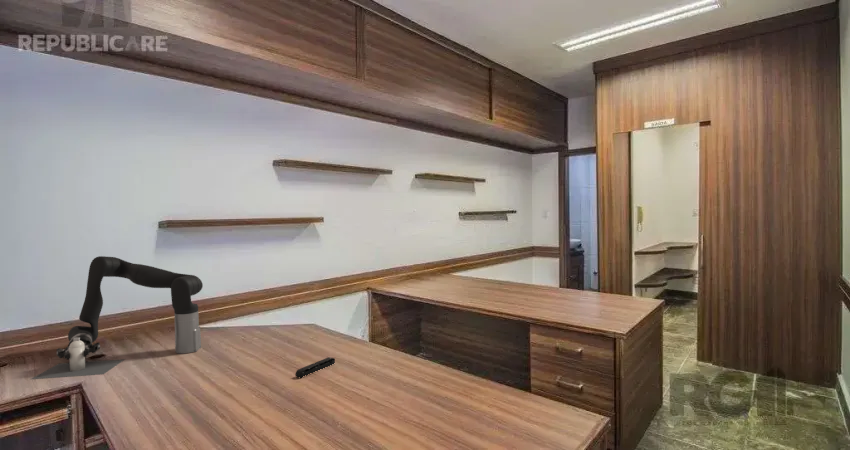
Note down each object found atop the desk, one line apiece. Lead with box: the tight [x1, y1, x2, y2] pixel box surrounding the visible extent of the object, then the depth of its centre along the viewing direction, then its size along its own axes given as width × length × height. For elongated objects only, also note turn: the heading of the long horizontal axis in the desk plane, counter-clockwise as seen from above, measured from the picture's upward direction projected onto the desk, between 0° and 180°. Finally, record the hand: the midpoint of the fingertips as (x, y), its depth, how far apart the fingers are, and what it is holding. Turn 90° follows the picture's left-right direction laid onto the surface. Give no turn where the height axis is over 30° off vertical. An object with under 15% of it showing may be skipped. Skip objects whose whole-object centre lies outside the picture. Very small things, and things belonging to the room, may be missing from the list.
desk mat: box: [29, 358, 126, 380], centre depth 162 cm, size 24×16×1 cm, turn 101°
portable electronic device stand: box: [295, 356, 336, 378], centre depth 161 cm, size 18×3×3 cm, turn 146°
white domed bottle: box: [69, 338, 86, 371], centre depth 161 cm, size 5×5×12 cm
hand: (76, 355), depth 159 cm, fingers closed on white domed bottle, 4 cm apart
